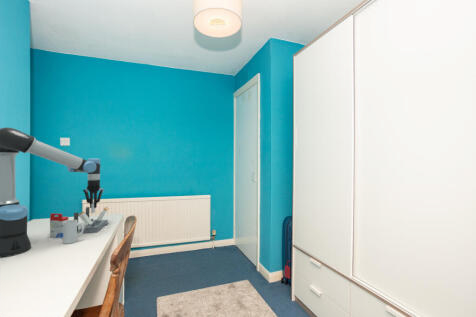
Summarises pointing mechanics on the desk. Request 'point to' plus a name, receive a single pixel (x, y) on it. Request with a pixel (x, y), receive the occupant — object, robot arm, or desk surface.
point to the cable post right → (88, 212)
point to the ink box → (57, 225)
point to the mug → (71, 231)
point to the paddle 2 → (102, 214)
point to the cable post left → (76, 218)
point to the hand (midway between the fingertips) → (93, 212)
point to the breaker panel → (94, 226)
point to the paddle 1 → (85, 218)
